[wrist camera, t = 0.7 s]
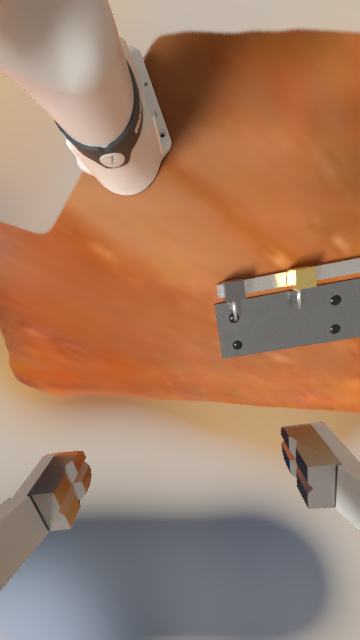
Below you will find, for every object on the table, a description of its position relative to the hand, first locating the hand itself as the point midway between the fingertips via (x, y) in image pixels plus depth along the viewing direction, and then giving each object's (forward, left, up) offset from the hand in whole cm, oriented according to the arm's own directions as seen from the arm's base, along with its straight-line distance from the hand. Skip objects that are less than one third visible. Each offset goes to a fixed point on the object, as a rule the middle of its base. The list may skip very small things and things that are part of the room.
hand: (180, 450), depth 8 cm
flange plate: (+10, +24, -40) cm, 48 cm away
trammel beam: (+3, +24, -40) cm, 47 cm away
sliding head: (+3, +24, -38) cm, 45 cm away
